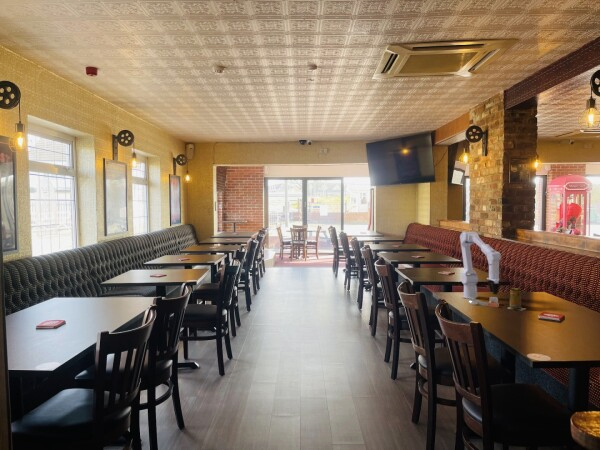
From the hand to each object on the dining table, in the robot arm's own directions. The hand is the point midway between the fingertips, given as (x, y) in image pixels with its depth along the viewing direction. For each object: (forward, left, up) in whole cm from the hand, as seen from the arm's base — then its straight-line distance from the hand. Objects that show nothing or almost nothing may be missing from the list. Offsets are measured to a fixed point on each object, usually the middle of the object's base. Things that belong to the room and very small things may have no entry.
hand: (493, 293), depth 269 cm
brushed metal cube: (0, 0, -7) cm, 7 cm away
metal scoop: (+6, -5, -7) cm, 10 cm away
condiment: (+3, +14, -8) cm, 16 cm away
